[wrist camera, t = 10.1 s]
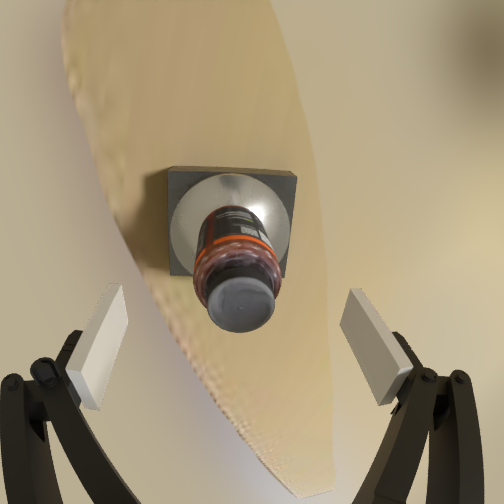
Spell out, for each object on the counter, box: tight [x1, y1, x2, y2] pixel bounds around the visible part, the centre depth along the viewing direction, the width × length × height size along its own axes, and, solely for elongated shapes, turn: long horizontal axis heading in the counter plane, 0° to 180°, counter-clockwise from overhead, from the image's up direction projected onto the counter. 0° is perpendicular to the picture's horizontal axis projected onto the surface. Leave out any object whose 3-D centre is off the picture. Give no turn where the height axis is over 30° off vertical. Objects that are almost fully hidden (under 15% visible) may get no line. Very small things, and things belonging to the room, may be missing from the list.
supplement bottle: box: [193, 205, 282, 333], centre depth 22 cm, size 6×6×11 cm
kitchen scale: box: [168, 166, 297, 278], centre depth 29 cm, size 12×12×5 cm
